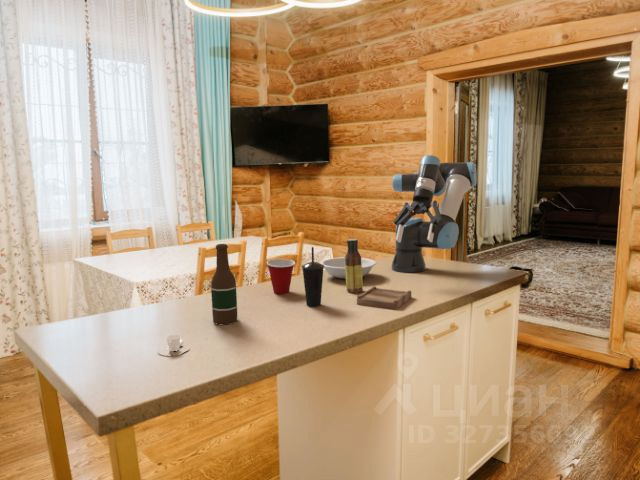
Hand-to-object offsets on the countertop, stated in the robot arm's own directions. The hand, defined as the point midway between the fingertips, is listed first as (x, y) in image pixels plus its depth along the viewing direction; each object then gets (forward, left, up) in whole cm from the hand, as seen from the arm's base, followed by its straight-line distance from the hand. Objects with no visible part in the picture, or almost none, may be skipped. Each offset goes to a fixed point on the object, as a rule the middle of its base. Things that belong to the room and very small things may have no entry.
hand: (413, 241), depth 180 cm
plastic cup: (+28, -42, -18) cm, 54 cm away
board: (+22, -3, -18) cm, 29 cm away
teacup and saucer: (+86, -34, -19) cm, 95 cm away
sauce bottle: (+15, -18, -18) cm, 30 cm away
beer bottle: (+64, -39, -18) cm, 78 cm away
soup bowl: (-5, -30, -18) cm, 35 cm away
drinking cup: (+37, -23, -18) cm, 48 cm away
